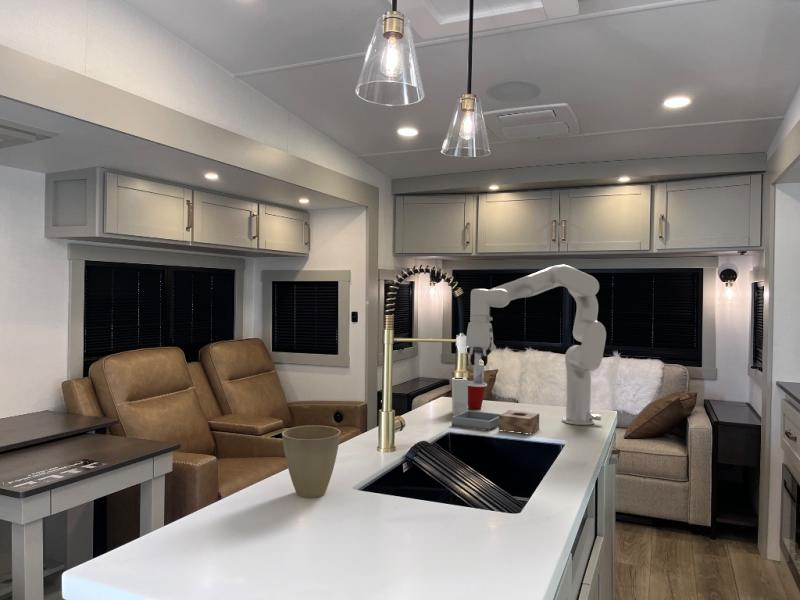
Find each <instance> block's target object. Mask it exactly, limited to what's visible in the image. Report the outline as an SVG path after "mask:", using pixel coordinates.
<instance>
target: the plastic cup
mask: <svg viewBox="0 0 800 600" xmlns="http://www.w3.org/2000/svg"><path fill="white" fill-rule="evenodd" d="M487 386H488V383H486V382H484V383H483V384H475V383H473V380H468V410H473V409H474V410H473V411H479V410H482V406H483V402H484V401H483V400H484V396H485V391H486V388H487ZM478 409H479V410H478Z"/></svg>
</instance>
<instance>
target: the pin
mask: <svg viewBox="0 0 800 600" xmlns="http://www.w3.org/2000/svg"><path fill="white" fill-rule="evenodd" d="M473 351H474V365H473V380H472V381H473V383H475V384H483V383H485V381H484V375H485V369H484V368H485V366H480V365H479V360H480V359H482V356H483V348H481V347H473Z"/></svg>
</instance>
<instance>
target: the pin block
mask: <svg viewBox="0 0 800 600" xmlns="http://www.w3.org/2000/svg"><path fill="white" fill-rule="evenodd" d="M500 414H501V415H499V426H498V431H499V430H503V431H502V432H504V430H505V431H514V432H521V433H528V434H530V433H532V432H533V431H535V430H537V429H538V430H540V413H539V412H530V411H521V410H520V411H519V410H513V409H510V410H507V411H505V412H503V413H500ZM538 430H537V431H538ZM535 432H536V431H535ZM533 433H534V432H533ZM533 433H532V434H533ZM530 435H531V434H530Z"/></svg>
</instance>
